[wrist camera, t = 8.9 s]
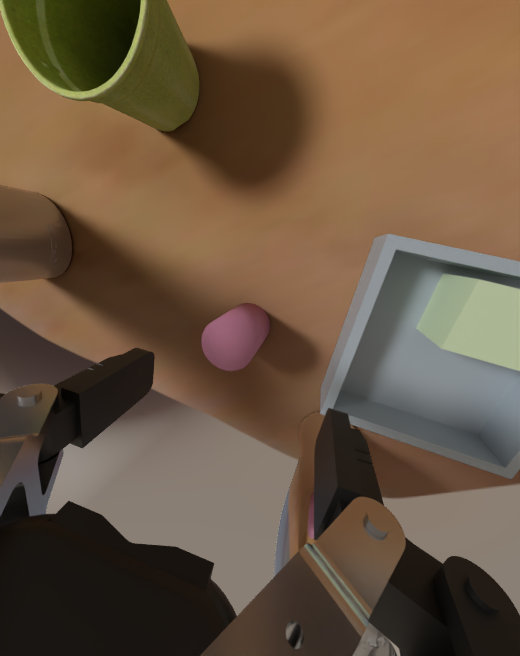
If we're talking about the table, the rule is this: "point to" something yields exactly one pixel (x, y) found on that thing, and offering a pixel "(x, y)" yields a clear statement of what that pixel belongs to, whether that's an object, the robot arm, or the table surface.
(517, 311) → the sage block
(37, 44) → the plant pot
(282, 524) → the beer glass
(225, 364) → the plum cylinder
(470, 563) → the robot arm
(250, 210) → the table surface
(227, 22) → the table surface
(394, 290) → the tub
